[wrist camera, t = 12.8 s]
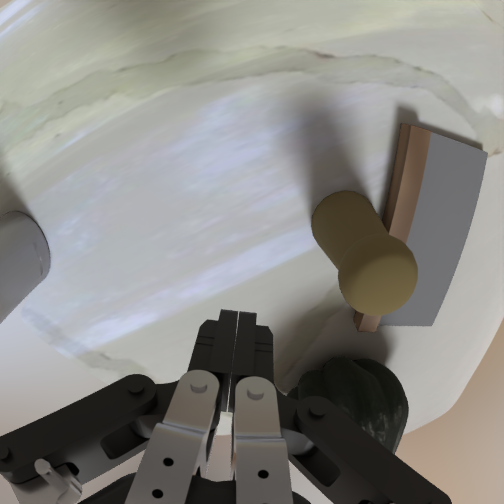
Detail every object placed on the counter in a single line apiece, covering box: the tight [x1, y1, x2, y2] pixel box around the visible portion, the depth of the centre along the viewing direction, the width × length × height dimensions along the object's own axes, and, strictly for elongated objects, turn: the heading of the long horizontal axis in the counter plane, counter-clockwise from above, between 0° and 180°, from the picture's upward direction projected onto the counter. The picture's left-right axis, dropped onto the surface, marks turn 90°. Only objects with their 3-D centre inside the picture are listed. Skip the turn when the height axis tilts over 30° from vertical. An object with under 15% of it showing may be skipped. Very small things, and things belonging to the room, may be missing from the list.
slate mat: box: [378, 132, 488, 326], centre depth 26 cm, size 8×20×1 cm, turn 174°
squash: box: [287, 357, 409, 455], centre depth 30 cm, size 14×15×15 cm
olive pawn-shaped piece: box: [311, 191, 418, 316], centre depth 22 cm, size 6×6×11 cm
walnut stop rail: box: [353, 124, 431, 332], centre depth 26 cm, size 2×20×2 cm, turn 175°
